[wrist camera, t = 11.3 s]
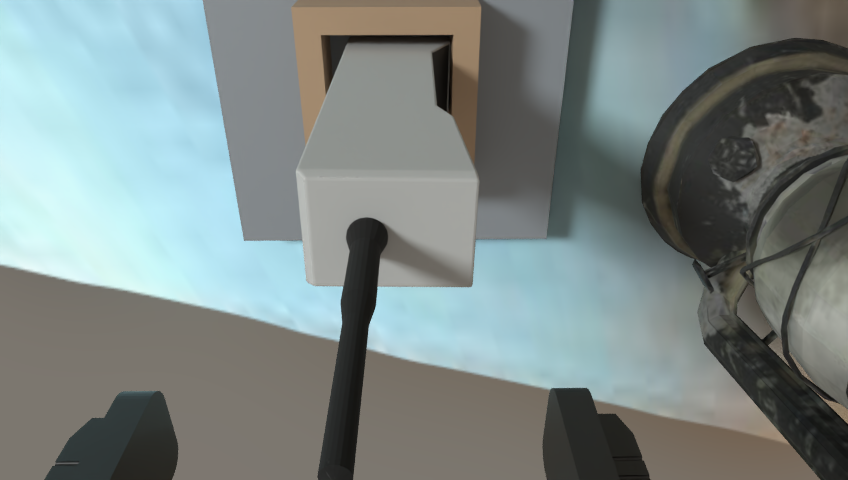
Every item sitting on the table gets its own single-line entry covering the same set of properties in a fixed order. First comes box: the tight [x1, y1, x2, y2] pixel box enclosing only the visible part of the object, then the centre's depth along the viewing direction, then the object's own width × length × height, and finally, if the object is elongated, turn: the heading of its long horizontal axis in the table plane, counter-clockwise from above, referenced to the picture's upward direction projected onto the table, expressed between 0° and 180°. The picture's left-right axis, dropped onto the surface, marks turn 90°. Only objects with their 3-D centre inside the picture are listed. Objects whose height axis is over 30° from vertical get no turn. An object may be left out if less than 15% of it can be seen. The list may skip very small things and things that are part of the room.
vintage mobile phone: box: [296, 36, 480, 480], centre depth 21 cm, size 4×5×25 cm
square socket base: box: [203, 0, 574, 241], centre depth 32 cm, size 18×18×5 cm
